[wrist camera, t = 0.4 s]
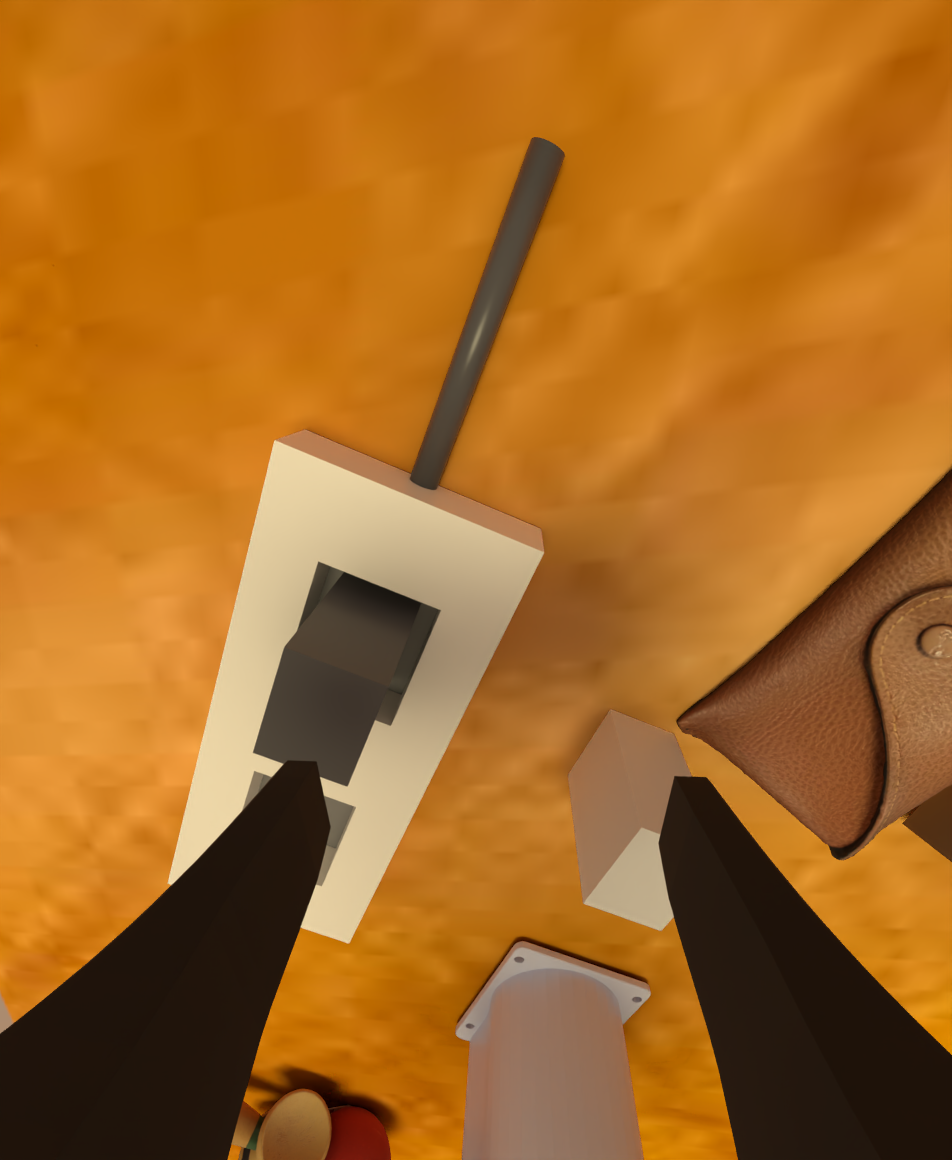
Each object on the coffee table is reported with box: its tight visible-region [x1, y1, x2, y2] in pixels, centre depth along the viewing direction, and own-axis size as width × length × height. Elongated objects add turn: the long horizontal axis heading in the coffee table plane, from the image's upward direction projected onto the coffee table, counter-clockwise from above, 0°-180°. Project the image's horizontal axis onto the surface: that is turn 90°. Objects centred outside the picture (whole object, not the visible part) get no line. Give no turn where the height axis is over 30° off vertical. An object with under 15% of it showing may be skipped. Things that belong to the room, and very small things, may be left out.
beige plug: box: [568, 709, 692, 931], centre depth 20 cm, size 4×3×6 cm
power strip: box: [168, 137, 565, 943], centre depth 18 cm, size 32×9×6 cm, turn 158°
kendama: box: [232, 1089, 391, 1160], centre depth 34 cm, size 8×6×18 cm
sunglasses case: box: [677, 470, 952, 860], centre depth 18 cm, size 18×7×7 cm, turn 148°
